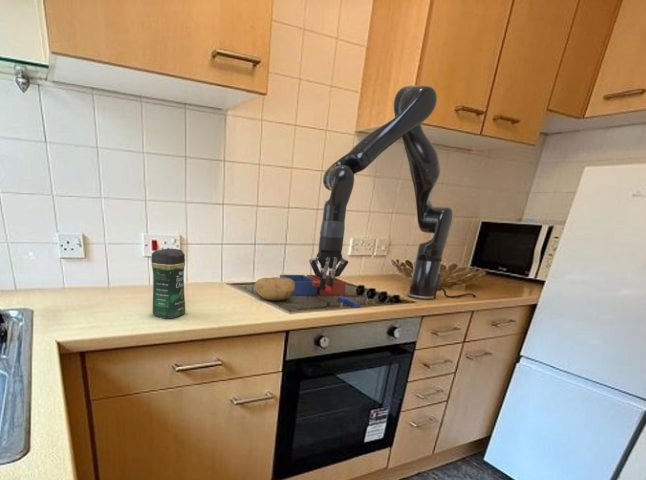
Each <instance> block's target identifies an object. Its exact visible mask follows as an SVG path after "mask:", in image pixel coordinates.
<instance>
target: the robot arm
mask: <svg viewBox="0 0 646 480" xmlns="http://www.w3.org/2000/svg"><path fill="white" fill-rule="evenodd" d="M436 91H437V90H435V89H434V88H433V87H432V86H429V85H406V86H403V87H401V88H399V90H397V92H396V94H395V97H394V100H393V104H392V105H393V106H392V107H393V109H392V110H393V115H394V118H392V119H390V120H389V121H388V122H386V123H385V124H382V125H381V126H379V127H377V128H375V129H374V130H372V131H370V132H369V133H368V134H366V135H364V137H363V138H362V139H361V140H360V141H358V142H357V144H355V145H354V147H352V148H351V150H350V151H349V152H347V153H346V154H345V155H343V156H341V157H340V158H339V159H338V160H336V161H335V162H333V163H332V164H331V165H330V166H329V167H328V168H327V169H326V170H325V172H324V173H323V177H322V184H323V186H324V188H325V189H326V190H327V191H329V192H330V195H329V197H328V199H327V200H326V201H325V202H324V204H323V211H322V220H321V224H320V231H319V241H318V252H317V254H316V256H315V257H314V258H310V259H309V261H308V262H309V265H310V266H311V269H312V271H313V273H314V275H316V276H318V277H320V284H319V287H320V288H321V289H322V290H325V285H326V279H325V278H326V275H328V276H329V278H327V285H328V286H330V287H331V288H332V287H333V280H334V278H338V277H339V278H340V276H341V275H342V273H343V272H344V270H345V269H346V267H347V265H348V264H349V261H348V260H347V259H345V258H343V254H342V253H343V252H342V251H343V245H344V238H345V229H346V215H347V206H348V204H349V201H350V199H351V195H352V192H353V189H354V184H355V175H356V174H358V173H360V172H363V171H364V170H366V169H367V168H368V167H369V166H370V165H371V164H372V163H373V162H374V161H375V160H376V159H377V158H379V156H380V155H381V154H382V153H384V152H385V151H386V150H388V148H390V147H391V146H392V145H394V143H396V142H397V141H399V140H400V139H401V140H402V144H403V147H404V153H405V157H406V160H407V166H408V171H409V176H410V177H409V178H410V180H411V184H412V189H413V194H414V199H415V207H416V219H417V225H418V228H419V230H420V231H421V232H422V233H426V234H433V236H432V238H431V239H429V240H426V241H424V242H420V243H419V244H418V245H417V249H416V250H417V251H416V256H415V261H414V266H413V271H412V276H411V281H410V285H409V289H408V293H407V296H408V297H410V298H414V299H419V300H433V299H436V298H437V293H438V292H441V291H442V292H443V295H444V296H445V297H446V298H450V299H451V298H460V297H465V296H472V297H473V298H477V296H476V294H474V293H469V292H468V293H461V294H458V295H448V294H447V291H446V289H445V288H443V283H440V279H441V276H442V274H441V273H440V269H441V264H442V260H443V257H444V256H443V255H444V253H445V248H446V247H447V243H448V241H449V236H450V232H451V229H452V224H453V221H454V211H453V209H452V208H451V207H448V206H447V207H446V206H433V203H432V200H431V199H432V197H431V195H432V193H433V191H434V189H435V187H436V185H437V183H438V181H439V179H440V175H441V167H440V160H439V154H438V151H437V150H436V148H435V145H433V143H432V141H431V140H430V139H429V137H428V136H427V134H426V133H425V131H424V129H423V126H422V123H424V122H425V121H426V120H427V119H429V117H431V116H432V114H433V112H434V111H435V109H436V106H437V102H438V95H437V92H436ZM318 264H319V265H320V268H319V266H318Z"/></svg>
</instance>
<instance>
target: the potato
mask: <svg viewBox="0 0 646 480" xmlns="http://www.w3.org/2000/svg"><path fill="white" fill-rule="evenodd" d="M295 286H296V285H295V282H294V281H293V280H292V279H289V278H280V276H273V277H262V278H259V279H257V281H255V283H254V288H255V291H256V292H257V294H258V295H259V296H261V298H262V299H264V300H266V301H272V302H280V301H286V300H287V299H288V300H289V299H290V298H291V297H292V296H293V295H292V294H293V292H294V291H295Z"/></svg>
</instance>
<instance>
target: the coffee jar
mask: <svg viewBox="0 0 646 480" xmlns="http://www.w3.org/2000/svg"><path fill="white" fill-rule="evenodd" d="M185 255H186V254H185V252H184V251H183V250H181V249H177V248H162V249H158V250H156V249H155V250H154V251H153V252H152V253H151V260H150V261H151V262H150V264H151V269H152V315H153V316H155V317H157V318H161V319H165V318H167V319H168V318H170V319H175V318H177V317H180V316H182V315H184V314H185V313H186V296H185V267H186V256H185Z"/></svg>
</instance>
